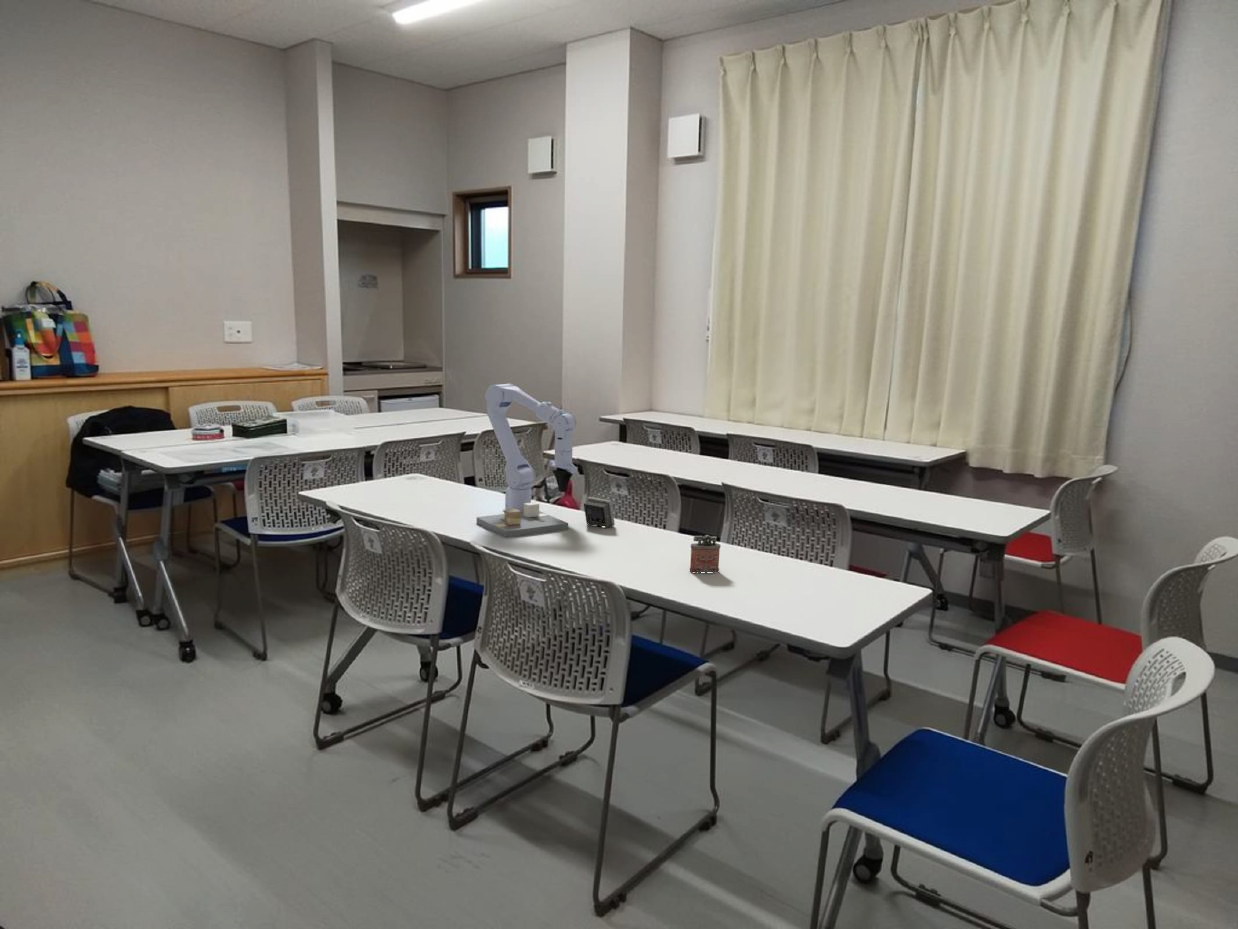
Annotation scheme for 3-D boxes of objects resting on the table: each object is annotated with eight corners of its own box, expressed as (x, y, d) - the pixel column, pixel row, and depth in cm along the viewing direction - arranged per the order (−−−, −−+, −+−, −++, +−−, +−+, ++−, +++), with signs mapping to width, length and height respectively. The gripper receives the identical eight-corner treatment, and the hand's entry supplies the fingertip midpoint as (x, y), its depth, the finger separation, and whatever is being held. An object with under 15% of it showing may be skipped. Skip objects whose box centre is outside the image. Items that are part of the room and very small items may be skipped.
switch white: (523, 515, 267) (523, 503, 267) (534, 514, 270) (534, 502, 269) (528, 517, 265) (528, 505, 264) (539, 516, 267) (539, 504, 267)
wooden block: (504, 523, 257) (504, 510, 256) (515, 521, 259) (516, 509, 258) (509, 525, 254) (509, 512, 254) (520, 523, 257) (520, 511, 256)
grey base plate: (476, 523, 264) (476, 516, 264) (536, 515, 277) (536, 509, 276) (505, 537, 248) (505, 531, 248) (568, 529, 261) (568, 522, 260)
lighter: (716, 569, 224) (718, 533, 222) (720, 573, 221) (722, 537, 219) (688, 570, 223) (689, 534, 221) (691, 574, 219) (693, 537, 218)
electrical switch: (615, 526, 266) (614, 499, 264) (606, 531, 262) (605, 503, 260) (591, 522, 271) (590, 495, 269) (582, 526, 267) (581, 499, 265)
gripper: (541, 448, 273) (541, 488, 275) (564, 454, 261) (563, 496, 263) (560, 446, 277) (559, 486, 279) (583, 453, 265) (582, 494, 267)
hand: (562, 491), depth 272 cm, fingers closed
